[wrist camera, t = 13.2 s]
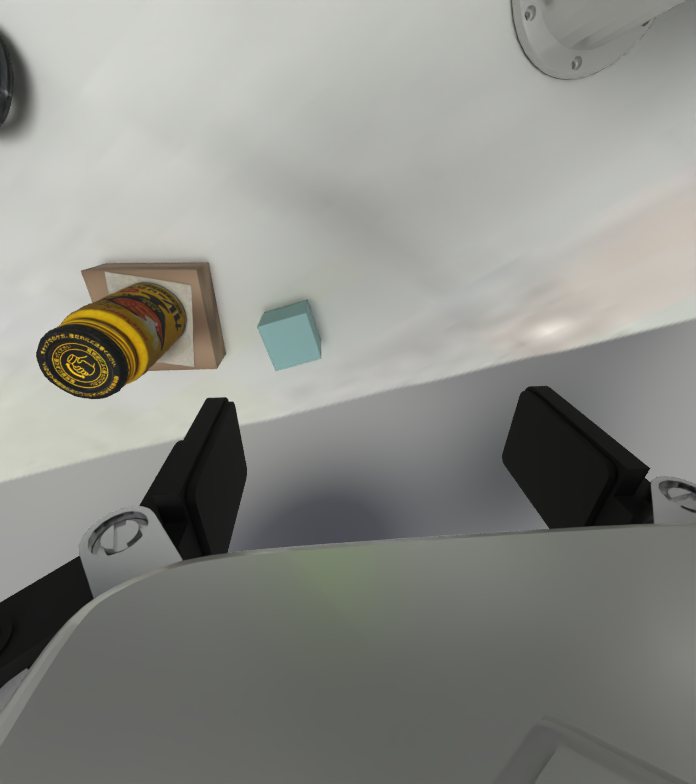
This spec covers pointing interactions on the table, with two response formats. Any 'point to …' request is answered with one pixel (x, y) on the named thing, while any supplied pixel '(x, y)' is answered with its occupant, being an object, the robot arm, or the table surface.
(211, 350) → the block
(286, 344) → the teal cube
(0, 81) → the milk frother
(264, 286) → the table surface
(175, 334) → the condiment
